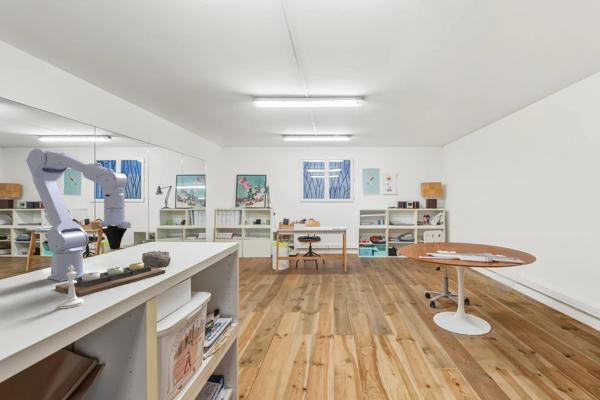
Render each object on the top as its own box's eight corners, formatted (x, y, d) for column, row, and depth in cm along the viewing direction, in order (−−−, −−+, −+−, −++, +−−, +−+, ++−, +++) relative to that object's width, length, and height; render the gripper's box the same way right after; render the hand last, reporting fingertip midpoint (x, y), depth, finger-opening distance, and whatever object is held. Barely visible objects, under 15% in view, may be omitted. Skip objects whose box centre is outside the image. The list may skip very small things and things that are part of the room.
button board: (55, 289, 81) (55, 280, 81) (141, 268, 104) (140, 261, 104) (80, 296, 75) (80, 286, 74) (165, 273, 98) (165, 265, 98)
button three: (126, 271, 95) (126, 264, 95) (139, 268, 98) (138, 261, 98) (134, 273, 93) (134, 265, 93) (146, 270, 96) (146, 262, 96)
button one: (78, 283, 82) (78, 274, 82) (95, 279, 86) (95, 270, 86) (86, 285, 80) (86, 276, 80) (103, 281, 84) (103, 272, 84)
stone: (171, 266, 108) (171, 251, 108) (143, 270, 103) (142, 254, 103) (168, 262, 115) (168, 248, 115) (141, 265, 110) (141, 251, 109)
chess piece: (69, 309, 66) (69, 268, 66) (53, 307, 67) (52, 267, 67) (89, 301, 71) (88, 263, 71) (73, 300, 72) (73, 262, 72)
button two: (104, 277, 88) (104, 269, 88) (118, 273, 92) (118, 265, 92) (112, 278, 86) (112, 270, 86) (126, 275, 90) (126, 267, 90)
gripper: (89, 208, 91) (89, 249, 91) (114, 209, 84) (114, 253, 84) (111, 207, 97) (112, 246, 97) (136, 208, 90) (137, 249, 90)
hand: (114, 249), depth 91 cm, fingers closed
